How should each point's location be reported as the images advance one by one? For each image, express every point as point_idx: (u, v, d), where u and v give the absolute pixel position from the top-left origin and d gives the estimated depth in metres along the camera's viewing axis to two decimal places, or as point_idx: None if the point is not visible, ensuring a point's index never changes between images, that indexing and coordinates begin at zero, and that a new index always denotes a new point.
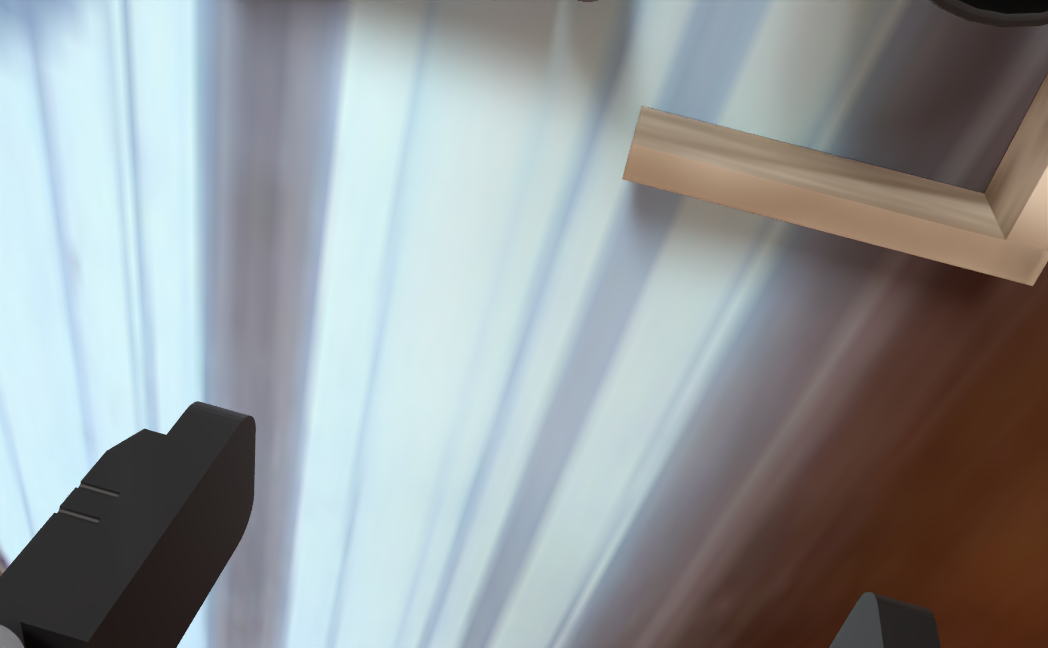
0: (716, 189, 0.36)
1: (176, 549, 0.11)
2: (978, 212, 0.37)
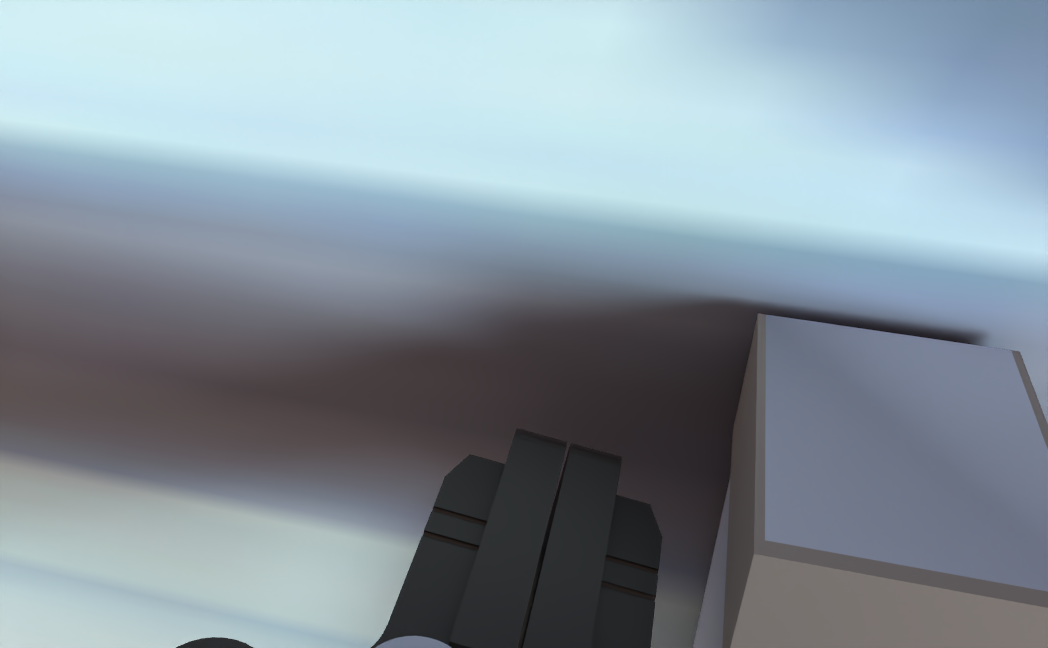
0: None
1: None
2: None
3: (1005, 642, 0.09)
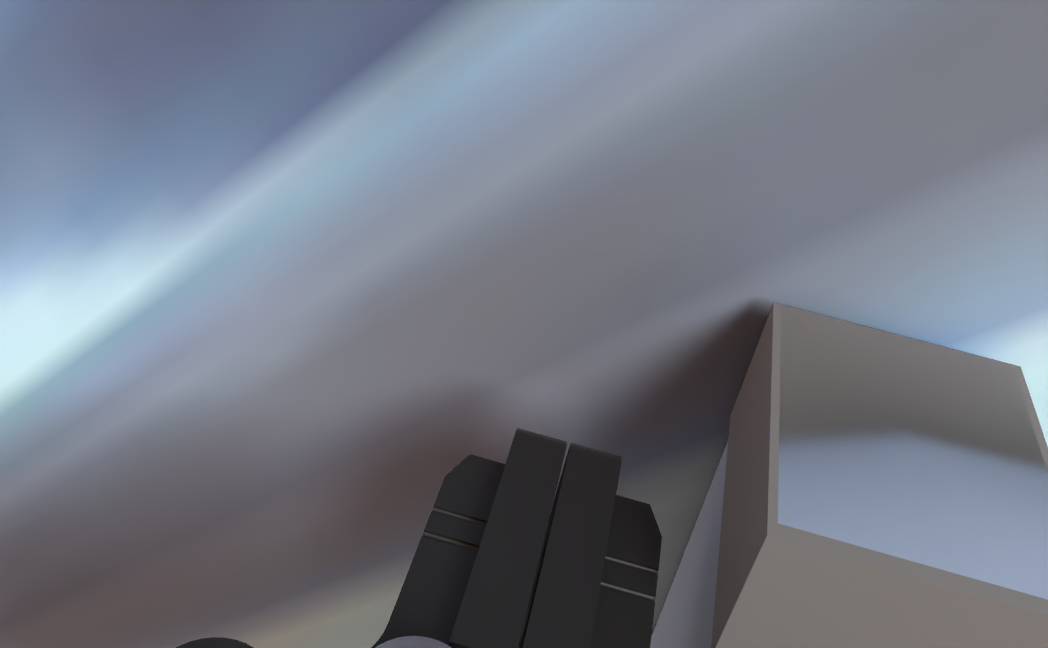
0: None
1: None
2: None
3: (994, 642, 0.09)
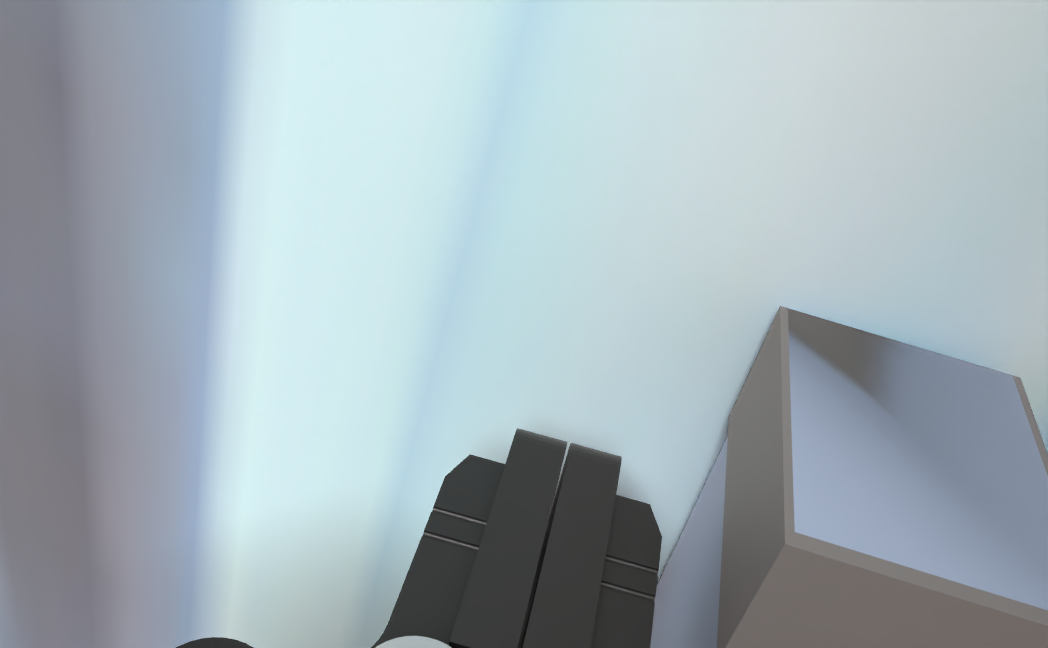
0: None
1: None
2: None
3: None
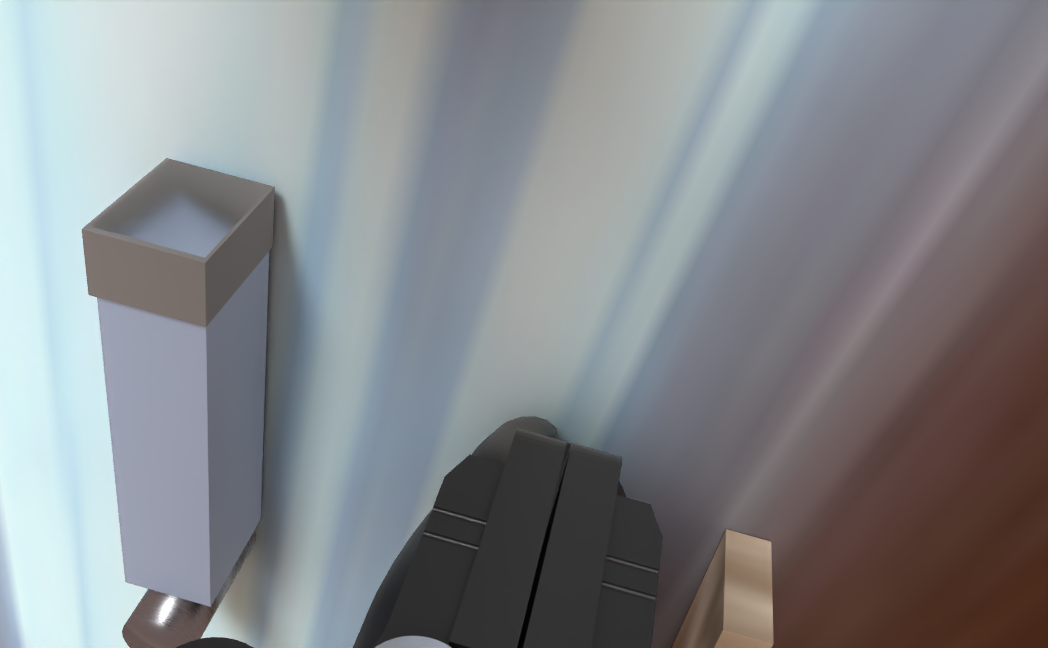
0: None
1: None
2: None
3: (175, 272, 0.24)
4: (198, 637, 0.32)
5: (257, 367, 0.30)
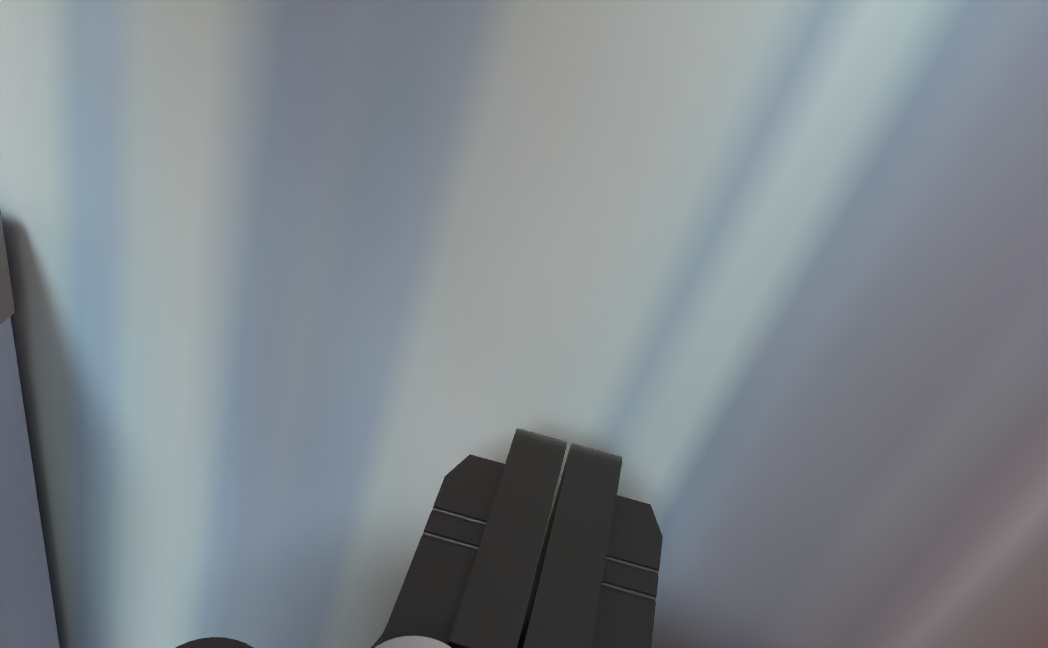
0: None
1: None
2: None
3: None
4: None
5: (14, 509, 0.18)
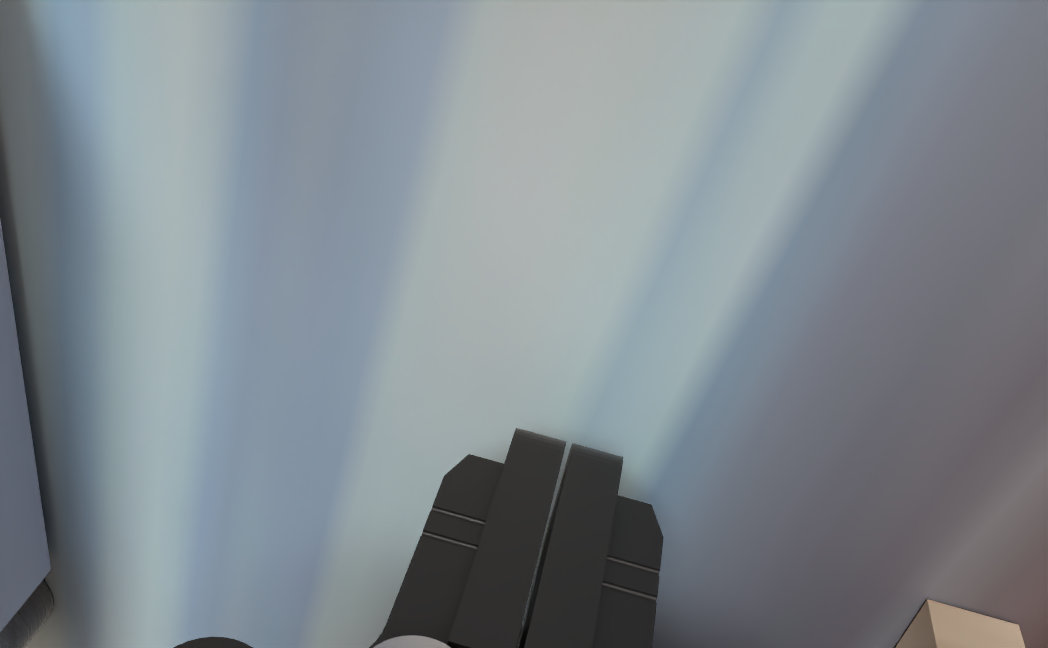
0: None
1: None
2: None
3: None
4: None
5: None
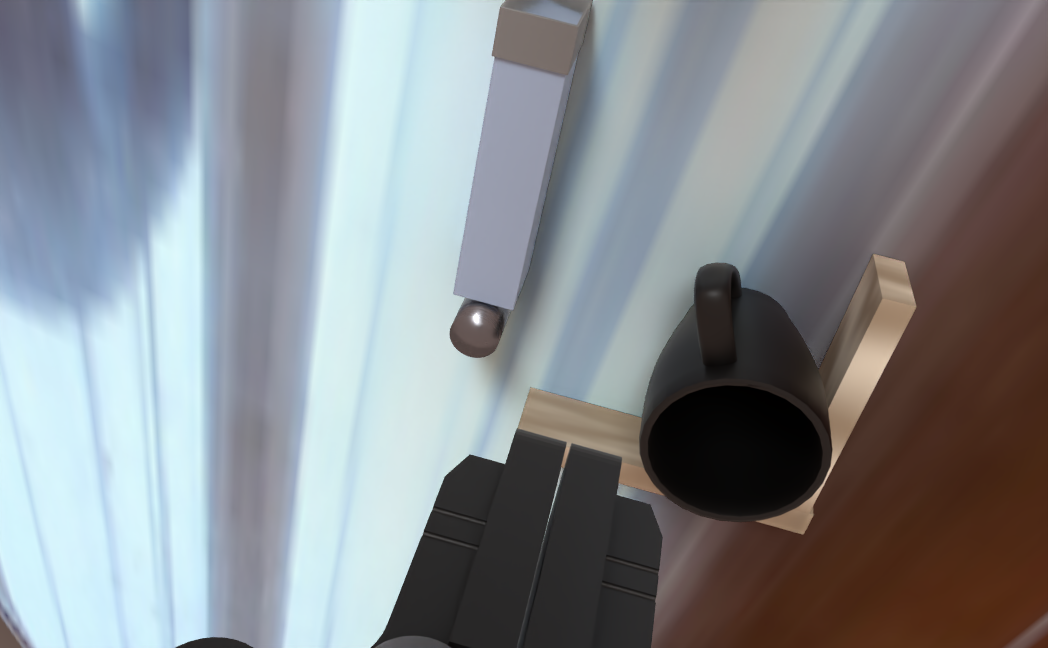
0: None
1: None
2: None
3: (556, 35, 0.38)
4: (500, 336, 0.46)
5: (558, 134, 0.44)
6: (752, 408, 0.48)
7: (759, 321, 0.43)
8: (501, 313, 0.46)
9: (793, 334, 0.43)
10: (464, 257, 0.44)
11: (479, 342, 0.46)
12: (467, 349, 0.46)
